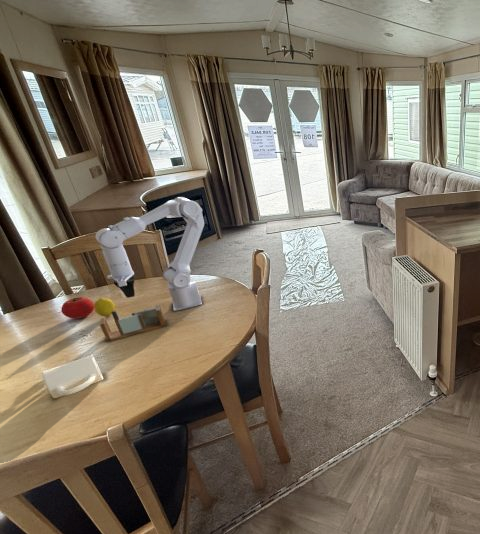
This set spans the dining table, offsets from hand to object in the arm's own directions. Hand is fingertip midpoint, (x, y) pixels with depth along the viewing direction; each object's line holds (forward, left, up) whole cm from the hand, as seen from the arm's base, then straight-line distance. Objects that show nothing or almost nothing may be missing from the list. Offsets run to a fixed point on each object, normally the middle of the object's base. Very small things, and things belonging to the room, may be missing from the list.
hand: (130, 296), depth 124 cm
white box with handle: (+13, +35, -11) cm, 39 cm away
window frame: (+1, +8, -10) cm, 13 cm away
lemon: (+10, -10, -11) cm, 18 cm away
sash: (+2, +9, -10) cm, 13 cm away
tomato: (+18, -16, -11) cm, 26 cm away
